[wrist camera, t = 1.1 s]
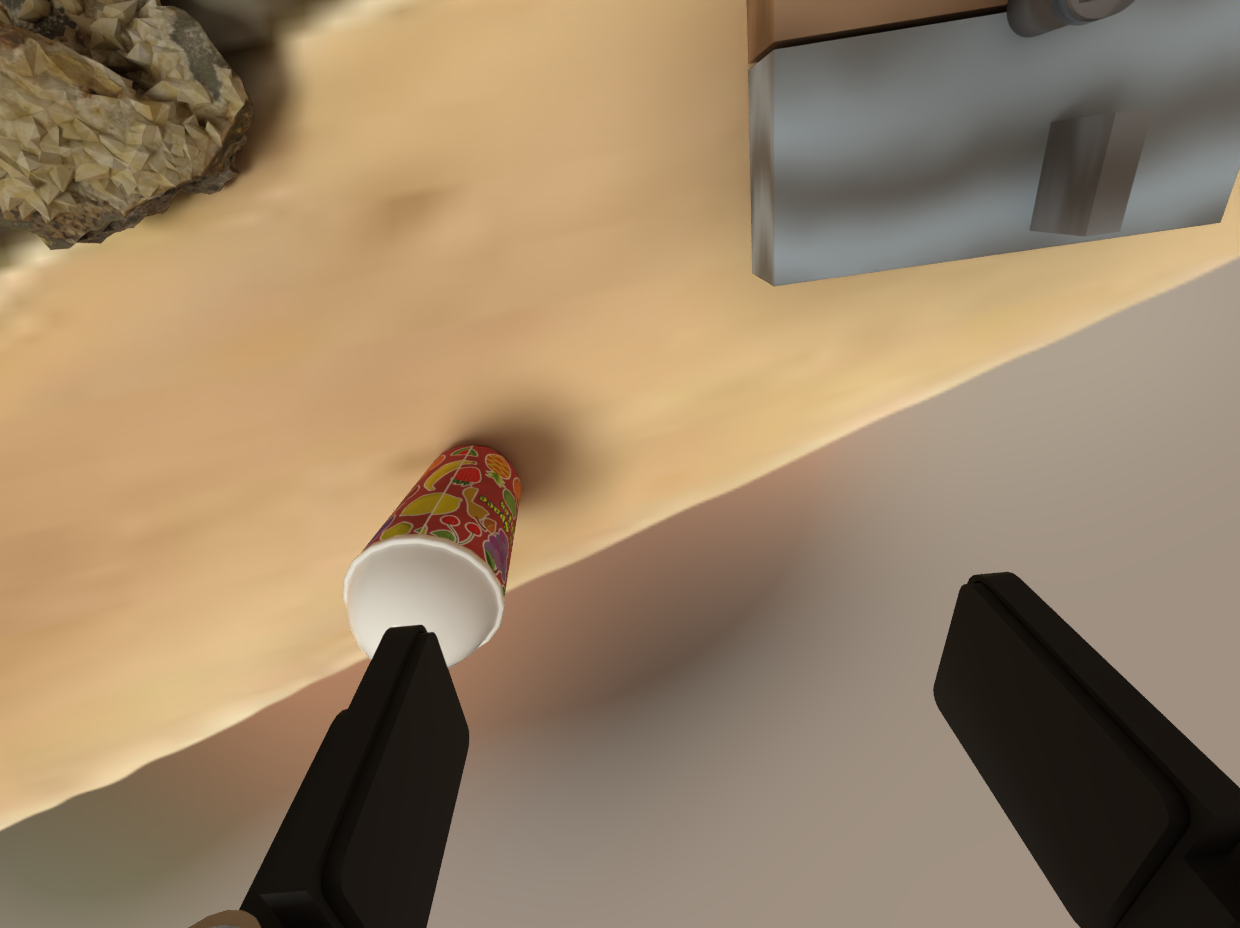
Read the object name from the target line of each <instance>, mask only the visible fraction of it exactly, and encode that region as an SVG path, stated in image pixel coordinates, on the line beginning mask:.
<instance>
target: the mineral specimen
mask: <svg viewBox="0 0 1240 928" xmlns="http://www.w3.org/2000/svg"><path fill="white" fill-rule="evenodd" d="M253 119H254V109H253V106H252V103H251V99H250V96H249V93H248V92H247V91H246V90H245V89H244V87H243V84H242V81H241V79H240V78H239V77H238V76H237V74H236V73H235V72H234V71H233V69H232V68H231V67H230V66H229V64H228V63H227V62H226V61H225V59H224V58H223V57H222V55H221V54H220V53H219V51H218V50H217V49H216V47H215V46H214V45H213V43H212V42H211V40H210V39H209V38H208V36H207V35H206V33H205V32H204V30H203V28H202V27H201V25H200V23H199V22H197V21H196V20H195V19H194V18H193V17H191V16H190V15H189V14H188V13H187V12H186V11H184V10H183V9H180V8H177V7H174V6H161V3H160V0H0V226H2V227H7V228H12V229H17V230H22V231H26V232H31V233H35V234H37V235H38V236H39V237H40V238H41V239H42V241H43V242H44V243H45V244H46V245H47V246H48V247H49V249H50V250H54V249H68V248H71V247H72V246H73V245H74V244H75V243H100V244H101V243H102V242H103V241H104V240H105V239H106V238H107V237H109V236H110V235H112V234H113V233H115V232H120V231H123V230H125V229H127V228H134V227H135V226H136V225H137V224H138V223H139V222H140V221H141V220H142V219H143V218H144V217H145V216H150V215H154V214H156V213H163V212H165V211H166V210H167V209H168V207H169V205H170V204H171V202H172V200H173V198H174V197H175V196H176V195H177V194H178V193H179V192H180V191H182V190H183V191H185V192H187V193H189V194H191V195H193V194H197V193H205V194H209V195H210V194H213V193H216V192H219V191H221V189H222V187H223V185H224V183H225V182H226V181H228V180H230V179H233V178H235V177H236V176H238V175H239V174H240V171H239V170H238V169H237V168H236V167H235V166H234V164H233V163H234V161H235V157H234V155H235V154H237V153H239V152H241V148H240V146H242V145H244V144H245V143H246V141H247V137H246V134H245V132H246V131H247V130H248V129H249V128H251V127H252V126H253Z"/></svg>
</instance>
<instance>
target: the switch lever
mask: <svg viewBox="0 0 1240 928" xmlns="http://www.w3.org/2000/svg"><path fill="white" fill-rule="evenodd" d="M1134 1H1135V0H1051V4H1052V8H1053V11H1054V13H1055V14H1056V16H1057V17H1058V18H1059V19H1060V20H1061V21H1062V22H1064V23H1066V24H1068V25H1072V26H1082V25H1086V24H1089V23H1092V22H1095V21H1098V20H1101V19H1104V18H1107V17H1110V16H1112V15H1115V14H1117V13H1119V12H1121V11H1123V10H1124V9H1126V8H1127V7H1128V6H1130V5H1131V4H1132V3H1133V2H1134Z"/></svg>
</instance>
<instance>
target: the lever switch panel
mask: <svg viewBox="0 0 1240 928" xmlns="http://www.w3.org/2000/svg"><path fill="white" fill-rule="evenodd" d="M747 22H748V64H750V63H756V62H758V63H757V64H756V65H754V66H753V67H752V68H751V69H750V70H748V73H749V123H750V174H751V224H752V273H753V274H754V275H756V276H758V277H759V278H761V279H763V280H764V281H766V282H768V283H769V284H771V285H773V286H780V285H787V284H794V283H801V282H808V281H815V280H822V279H829V278H836V277H843V276H850V275H857V274H864V273H871V272H878V271H885V270H892V269H899V268H906V267H913V266H920V265H927V264H934V263H941V262H948V261H955V260H962V259H969V258H976V257H983V256H990V255H997V254H1004V253H1011V252H1018V251H1025V250H1032V249H1039V248H1046V247H1053V246H1060V245H1067V244H1074V243H1081V242H1088V241H1095V240H1102V239H1109V238H1116V237H1123V236H1130V235H1137V234H1144V233H1151V232H1158V231H1165V230H1172V229H1179V228H1186V227H1193V226H1200V225H1207V224H1214V223H1220V222H1221V219H1222V217H1223V214H1224V211H1225V208H1226V205H1227V202H1228V199H1229V196H1230V194H1231V191H1232V188H1233V185H1234V182H1235V179H1236V176H1237V174H1238V171H1239V168H1240V0H1135V1H1134V2H1133V3H1132V4H1131V5H1130V6H1128V7H1127V8H1126V9H1124V10H1123V11H1121V12H1119V13H1117V14H1115V15H1112V16H1110V17H1107V18H1104V19H1101V20H1098V21H1095V22H1092V23H1089V24H1086V25H1082V26H1072V25H1068V24H1066V23H1064V22H1062V21H1061V20H1060V19H1059V18H1058V17H1057V16H1056V14H1055V13H1054V11H1053V8H1052V4H1051V0H747Z"/></svg>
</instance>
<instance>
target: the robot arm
mask: <svg viewBox="0 0 1240 928" xmlns="http://www.w3.org/2000/svg"><path fill="white" fill-rule="evenodd" d="M933 691H934V698H935V701H936V704H937V706H938V708H939V710H940V711H941V713H942V715H943V716H944V718H945V719H946V721H947V722H948V724H949V726H950V727H951V729H952V730H953V732H954V733H955V735H956V737H957V738H958V739H959V741H960V743H961V744H962V746H963V748H964V749H965V751H966V752H967V754H968V755H969V757H970V758H971V760H972V762H973V763H974V765H975V766H976V768H977V770H978V771H979V773H980V774H981V776H982V777H983V779H984V781H985V782H986V784H987V785H988V786H989V788H990V790H991V792H992V793H993V794H994V796H995V798H996V799H997V801H998V803H999V804H1000V806H1001V807H1002V809H1003V810H1004V812H1005V813H1006V815H1007V817H1008V818H1009V820H1010V821H1011V823H1012V825H1013V826H1014V827H1015V829H1016V831H1017V832H1018V834H1019V835H1020V837H1021V839H1022V840H1023V842H1024V843H1025V845H1026V846H1027V848H1028V850H1029V851H1030V853H1031V854H1032V856H1033V857H1034V859H1035V861H1036V862H1037V864H1038V865H1039V867H1040V868H1041V870H1042V871H1043V873H1044V875H1045V876H1046V878H1047V879H1048V881H1049V883H1050V884H1051V886H1052V887H1053V889H1054V890H1055V892H1056V894H1057V895H1058V896H1059V898H1060V900H1061V901H1062V903H1063V905H1064V906H1065V908H1066V909H1067V911H1068V912H1069V914H1070V915H1071V917H1072V918H1073V920H1074V921H1075V922H1076V923H1077V924H1078V925H1079V926H1080V927H1081V928H1240V788H1239V787H1238V786H1237V785H1236V784H1235V783H1234V782H1233V781H1232V780H1231V779H1230V778H1229V777H1228V776H1227V775H1226V774H1225V773H1224V772H1222V771H1221V770H1220V769H1219V768H1218V767H1217V766H1216V765H1215V764H1214V763H1213V762H1212V761H1211V760H1210V759H1209V758H1208V757H1207V756H1206V755H1205V754H1203V752H1201V751H1200V750H1199V749H1198V748H1197V747H1196V746H1195V745H1194V744H1193V743H1192V742H1191V741H1190V740H1189V739H1188V738H1187V737H1186V736H1185V735H1184V734H1183V733H1181V731H1179V730H1178V729H1177V728H1176V727H1175V726H1174V725H1173V724H1172V723H1171V722H1170V721H1169V720H1168V719H1167V718H1166V717H1165V716H1164V715H1163V714H1161V712H1160V711H1158V710H1157V709H1156V708H1155V707H1154V706H1153V705H1152V704H1151V703H1150V702H1149V701H1148V700H1147V699H1146V698H1145V697H1144V696H1143V695H1142V694H1141V693H1140V692H1138V690H1136V689H1135V688H1134V687H1133V686H1132V685H1131V684H1130V683H1129V682H1128V681H1127V680H1126V679H1125V678H1124V677H1123V676H1122V675H1121V674H1120V673H1119V672H1118V671H1117V670H1116V669H1114V668H1113V667H1112V666H1111V665H1110V664H1109V663H1108V662H1107V661H1106V660H1105V659H1104V658H1103V657H1102V656H1101V655H1100V654H1099V653H1098V652H1097V651H1096V650H1094V649H1093V648H1092V647H1091V646H1090V645H1089V644H1088V643H1087V642H1086V641H1085V640H1084V639H1083V638H1082V637H1081V636H1080V635H1079V634H1078V633H1077V632H1075V630H1073V628H1071V627H1070V626H1069V625H1068V624H1067V623H1066V622H1065V621H1064V620H1063V619H1062V618H1061V617H1060V616H1059V615H1058V614H1057V613H1056V612H1055V611H1054V610H1053V609H1052V608H1050V607H1049V606H1048V605H1047V604H1046V603H1045V602H1044V601H1043V600H1042V599H1041V598H1040V597H1039V596H1038V595H1037V594H1036V593H1035V592H1034V591H1033V590H1031V588H1029V587H1028V586H1027V585H1026V584H1025V583H1024V582H1023V581H1022V580H1021V579H1020V578H1019V577H1018V576H1016V575H1015V574H1013V573H1010V572H1002V573H990V574H980V575H973V576H972V577H971V578H970V579H969V581H968V583H967V584H964V585H963V586H961V589H960V591H959V594H958V598H957V602H956V606H955V609H954V613H953V617H952V620H951V624H950V628H949V632H948V635H947V639H946V643H945V646H944V650H943V654H942V657H941V661H940V665H939V669H938V672H937V676H936V680H935V683H934V689H933ZM468 747H469V729H468V726H467V723H466V720H465V717H464V714H463V711H462V708H461V705H460V702H459V699H458V696H457V694H456V691H455V688H454V685H453V682H452V679H451V676H450V673H449V670H448V667H447V664H446V661H445V659H444V656H443V653H442V650H441V647H440V644H439V641H438V638H437V636H436V634H435V633H434V632H427V630H426V628H425V627H424V626H423V625H412V626H400V627H390V628H388V629H387V630H386V632H385V633H384V635H383V637H382V639H381V641H380V643H379V645H378V647H377V649H376V651H375V653H374V656H373V658H372V660H371V662H370V664H369V666H368V668H367V670H366V672H365V674H364V676H363V679H362V681H361V683H360V685H359V687H358V689H357V691H356V693H355V695H354V697H353V699H352V702H351V704H350V706H349V708H348V709H345V710H343V711H341V712H340V713H339V714H338V715H337V716H336V718H335V719H334V721H333V722H332V724H331V726H330V728H329V730H328V732H327V734H326V736H325V738H324V740H323V742H322V744H321V746H320V748H319V750H318V752H317V754H316V756H315V758H314V760H313V762H312V764H311V766H310V768H309V770H308V772H307V774H306V776H305V778H304V780H303V782H302V784H301V786H300V788H299V790H298V792H297V794H296V796H295V798H294V800H293V802H292V804H291V806H290V808H289V810H288V812H287V814H286V816H285V818H284V820H283V822H282V824H281V826H280V828H279V830H278V833H277V834H276V837H275V838H274V841H273V842H272V844H271V847H270V849H269V851H268V853H267V855H266V856H265V858H264V861H263V863H262V865H261V867H260V869H259V871H258V873H257V875H256V877H255V879H254V881H253V883H252V885H251V887H250V889H249V891H248V893H247V895H246V897H245V899H244V901H243V903H242V905H241V907H240V909H239V910H226V911H223V912H219V913H216V914H213V915H210V916H207V917H206V918H204V919H202V920H201V921H199V922H197V923H195V924H194V925H192V926H190V927H189V928H426V927H427V923H428V918H429V914H430V910H431V905H432V901H433V897H434V893H435V889H436V884H437V880H438V876H439V871H440V867H441V863H442V859H443V855H444V850H445V846H446V842H447V837H448V833H449V829H450V824H451V820H452V816H453V812H454V807H455V803H456V799H457V795H458V790H459V786H460V782H461V777H462V773H463V769H464V765H465V761H466V756H467V752H468Z"/></svg>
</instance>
